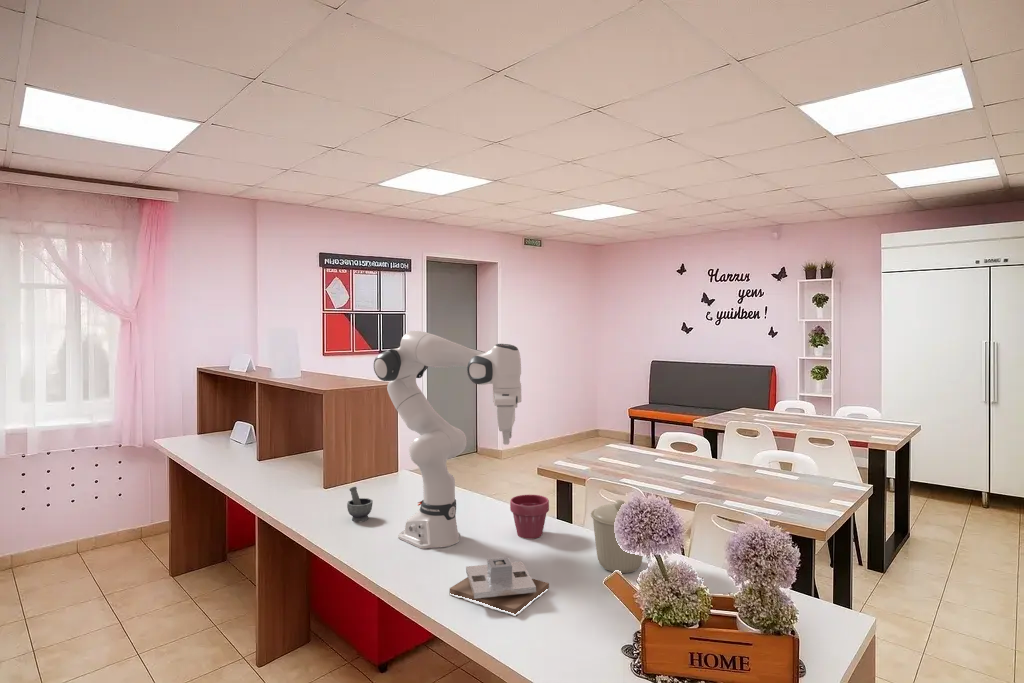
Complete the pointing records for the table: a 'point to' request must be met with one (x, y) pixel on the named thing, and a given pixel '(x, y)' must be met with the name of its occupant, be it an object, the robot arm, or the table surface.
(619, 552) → the canister
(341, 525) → the table surface
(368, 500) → the mortar and pestle
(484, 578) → the flange plate
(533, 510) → the plant pot
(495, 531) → the table surface
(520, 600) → the post base
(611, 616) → the table surface
